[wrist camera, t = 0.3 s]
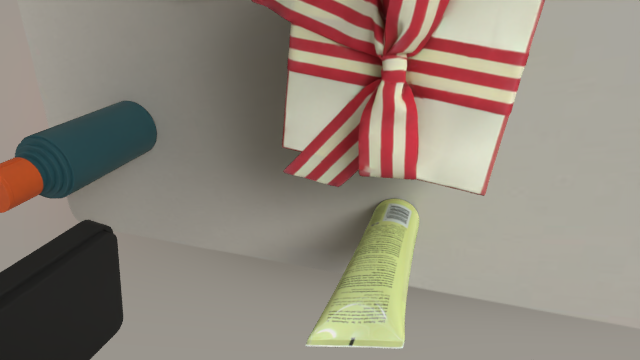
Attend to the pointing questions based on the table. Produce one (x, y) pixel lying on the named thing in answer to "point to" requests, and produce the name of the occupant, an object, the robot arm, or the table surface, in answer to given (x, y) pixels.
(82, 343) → the robot arm
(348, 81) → the gift box
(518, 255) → the table surface
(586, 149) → the table surface
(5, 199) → the cap
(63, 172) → the bottle
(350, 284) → the tube
